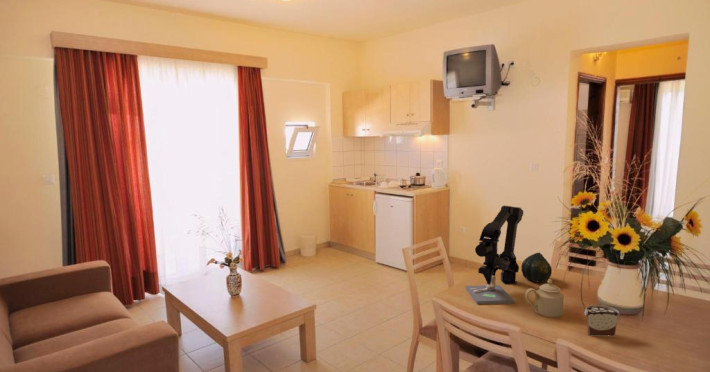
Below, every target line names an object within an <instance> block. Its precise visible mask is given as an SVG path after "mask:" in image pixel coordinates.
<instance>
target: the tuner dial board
mask: <svg viewBox="0 0 710 372" xmlns="http://www.w3.org/2000/svg"><path fill="white" fill-rule="evenodd" d="M486 285H487V284H485V285H483V284H482V285H465V290H466V292H468V294H469V295H470V297H471V298H472V300H473V301H474V302H475V304H476V305H491V304H492V305H497V304H514V303H515V299H514V298H513V297H512V296H511V295H510V294H509V293H508V292H507V291H506V290H505V289H504V287H502V286H501V285H500V284H496V286H495V290H494V291H489V290H484V291H478V292H474V290H480V289H486Z"/></svg>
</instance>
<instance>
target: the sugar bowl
mask: <svg viewBox="0 0 710 372" xmlns="http://www.w3.org/2000/svg"><path fill="white" fill-rule="evenodd" d="M546 281H547V283H543V284H541V285H539V287H538V288H539V289H534V288H531V287H530V288H528V289H526V291H525V295H524V296H525V300H526V302H527V303H528V304H529V305H530V306H531V307H533V308H534V311H535V312H536V314H538V315H540V316H543V317H546V318H560V317H563V313H564V302H565V301H564V297H565V296H564V294H563V293H562V292H561V288H560V287H558V286H557V285H555V284H553V280H552V278H549V279H547V280H546ZM530 292H533V293H534V297H535V298H534V304H533V303H532V302H531V301H530V298H529V294H530Z"/></svg>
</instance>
